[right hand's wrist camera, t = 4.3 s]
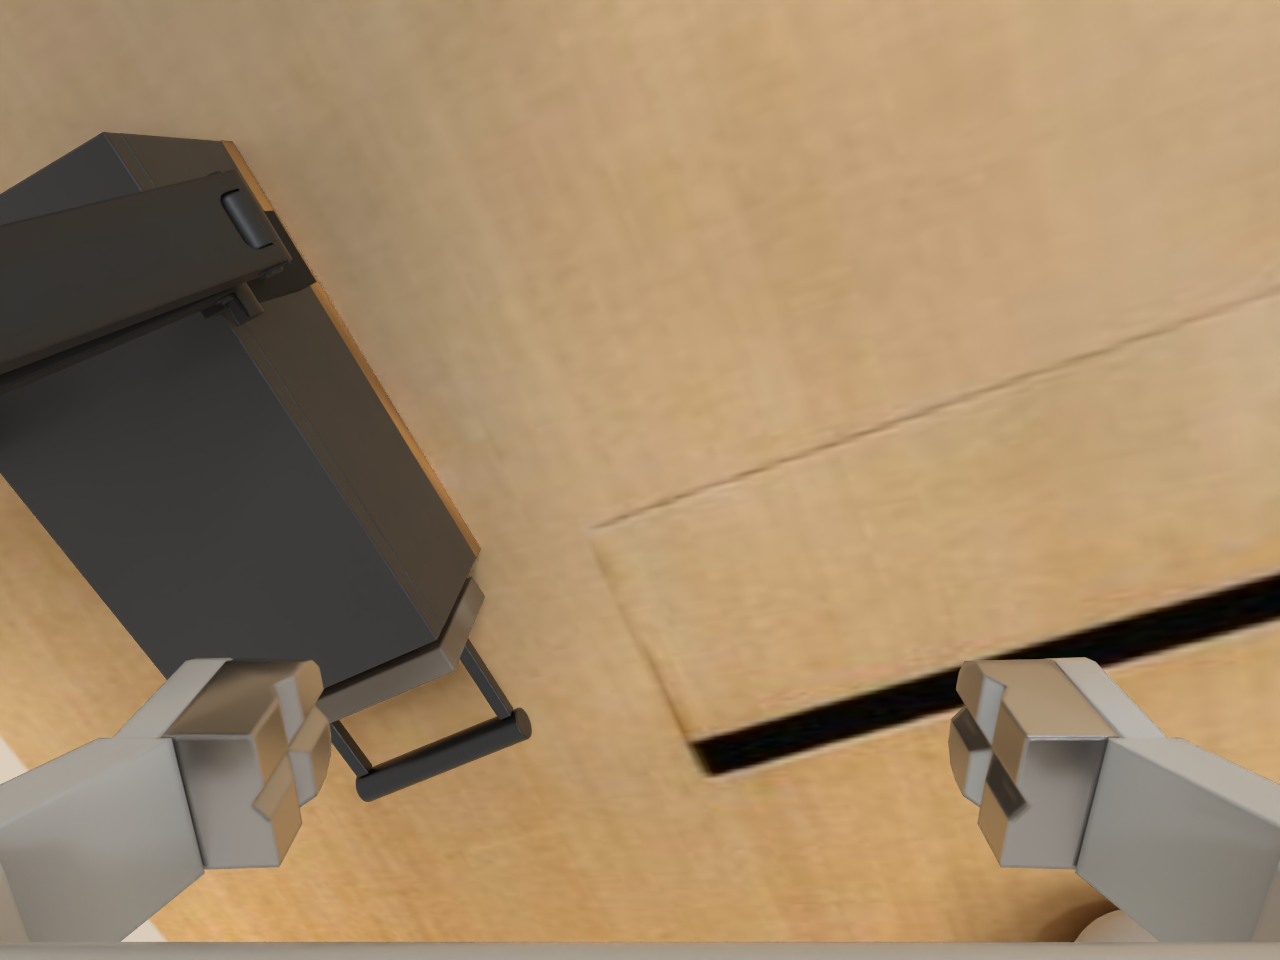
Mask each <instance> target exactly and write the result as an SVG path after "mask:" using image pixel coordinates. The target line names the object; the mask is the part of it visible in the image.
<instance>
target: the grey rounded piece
mask: <svg viewBox="0 0 1280 960" xmlns="http://www.w3.org/2000/svg"><path fill="white" fill-rule="evenodd" d="M1075 942H1160V941H1158V940H1157V939H1156V938H1155V937H1153V936H1152V935H1151V934H1150V933H1149V932H1147V931H1146V930H1145V929H1144V928H1142V927H1141V926H1140V925H1139V924H1138V923H1136V922H1135V921H1134V920H1133V919H1131V918H1130V917H1129V916H1128V915H1126V914H1125V913H1124V912H1123V911H1122V910H1116V911H1113V912H1110V913H1107V914H1105V915H1103V916H1101V917H1099V918H1097V919H1095V920H1094V921H1093V922H1092V923H1091V924H1089V925H1088V926H1087V927H1086V928H1085V929H1084V930H1083V931H1082V932H1081V933H1080V935H1079V936H1078V938H1077V939H1076V940H1075Z"/></svg>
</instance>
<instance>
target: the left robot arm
mask: <svg viewBox="0 0 1280 960" xmlns="http://www.w3.org/2000/svg"><path fill="white" fill-rule="evenodd" d="M316 282H317V281H316V280H315V278H314V276H313V275H312V273H311V271H310V270H309V268H308V266H307V265H306V263H305V261H304V260H303V258H302V256H301V255H300V253H299V251H298V250H297V248H296V246H295V245H294V243H293V242H292V240H291V238H290V237H289V235H288V233H287V232H286V230H285V228H284V227H283V225H282V223H281V222H280V220H279V218H278V217H277V215H276V213H275V212H274V210H272V211H263V209H262V208H261V206H260V205H259V203H258V201H257V200H256V198H255V196H254V195H253V193H252V191H251V190H250V188H249V187H248V185H247V183H246V182H245V180H244V178H243V177H242V175H241V173H240V172H239V171H238V170H230V171H226V172H223V171H217V172H214V173H211V174H209V175H207V176H205V177H201V178H197V179H192V180H188V181H184V182H180V183H176V184H171V185H167V186H163V187H159V188H155V189H150V190H146V191H142V192H138V193H134V194H129V195H125V196H121V197H117V198H113V199H108V200H104V201H100V202H96V203H91V204H87V205H83V206H79V207H75V208H70V209H66V210H62V211H58V212H54V213H49V214H45V215H41V216H37V217H33V218H28V219H24V220H20V221H16V222H12V223H7V224H3V225H0V396H2V395H5V394H7V393H9V392H12V391H14V390H16V389H19V388H21V387H23V386H26V385H28V384H30V383H33V382H35V381H37V380H40V379H42V378H44V377H47V376H49V375H51V374H54V373H56V372H59V371H61V370H63V369H66V368H68V367H70V366H73V365H75V364H77V363H80V362H82V361H84V360H87V359H89V358H91V357H94V356H96V355H98V354H101V353H103V352H106V351H108V350H110V349H113V348H115V347H117V346H120V345H122V344H124V343H127V342H129V341H131V340H134V339H136V338H138V337H141V336H143V335H145V334H148V333H150V332H153V331H155V330H157V329H160V328H162V327H164V326H167V325H169V324H171V323H174V322H176V321H178V320H181V319H183V318H185V317H188V316H190V315H192V314H195V313H197V312H199V311H200V312H201V313H202V315H203V316H204V318H205V319H207V318H210V317H214V316H217V315H221V314H224V313H227V312H228V313H229V314H230V316H231V318H232V319H233V321H234V322H235V324H236V325H237V326H240V325H242V324H244V323H246V322H248V321H250V320H252V319H254V318H256V317H257V316H259V315H261V314H262V313H264V310H263V308H262V307H261V305H260V304H259V303H261V302H265V301H268V300H271V299H275V298H278V297H281V296H285V295H288V294H292V293H295V292H298V291H301V290H303V289H305V288H306V287H308V286H310V285H312V284H314V283H316Z"/></svg>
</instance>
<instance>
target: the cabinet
mask: <svg viewBox="0 0 1280 960" xmlns="http://www.w3.org/2000/svg"><path fill="white" fill-rule="evenodd" d="M230 170H238V171H239V172H240V173H241V175H242V177H243V178H244V180H245V182H246V183H247V185H248V187H249V188H250V190H251V191H252V193H253V195H254V196H255V198H256V200H257V201H258V203H259V205H260V206H261V208H262V209H263V211H272V210H274V209H273V207H272V205H271V204H270V202H269V200H268V199H267V197H266V195H265V194H264V192H263V190H262V189H261V187H260V186H259V184H258V182H257V181H256V179H255V177H254V176H253V174H252V172H251V171H250V169H249V167H248V166H247V164H246V163H245V161H244V159H243V158H242V156H241V154H240V153H239V151H238V149H237V148H236V146H235V144H234V143H233V141H209V140H197V139H185V138H172V137H160V136H148V135H136V134H123V133H120V134H119V133H108V132H102V133H101V134H99V135H97V136H96V137H94V138H92V139H91V140H89V141H87V142H86V143H84V144H83V145H81V146H79V147H78V148H76V149H74V150H73V151H71V152H69V153H68V154H66V155H64V156H63V157H61V158H59V159H58V160H56V161H54V162H53V163H51V164H49V165H48V166H46V167H44V168H43V169H41V170H40V171H38V172H36V173H35V174H33V175H31V176H30V177H28V178H26V179H25V180H23V181H21V182H20V183H18V184H16V185H15V186H13V187H11V188H10V189H8V190H6V191H5V192H3V193H1V194H0V225H3V224H7V223H12V222H16V221H20V220H24V219H28V218H33V217H37V216H41V215H45V214H49V213H54V212H58V211H62V210H66V209H70V208H75V207H79V206H83V205H87V204H91V203H96V202H100V201H104V200H108V199H113V198H117V197H121V196H125V195H129V194H134V193H138V192H142V191H146V190H150V189H155V188H159V187H163V186H167V185H171V184H176V183H180V182H184V181H188V180H192V179H197V178H201V177H205V176H207V175H209V174H211V173H214V172H217V171H223V172H226V171H230ZM274 212H275V210H274ZM275 213H276V212H275ZM276 215H277V213H276ZM277 217H278V215H277ZM278 218H279V217H278ZM279 220H280V218H279ZM280 222H281V220H280ZM281 223H282V222H281ZM282 225H283V223H282ZM283 227H284V225H283ZM284 228H285V227H284ZM285 230H286V228H285ZM286 232H287V230H286ZM287 233H288V232H287ZM288 235H289V233H288ZM289 237H290V238H291V236H290V235H289ZM291 240H292V238H291ZM292 242H293V243H294V241H293V240H292ZM294 245H295V243H294ZM295 246H296V245H295ZM296 248H297V246H296ZM297 250H298V248H297ZM298 251H299V250H298ZM299 253H300V251H299ZM300 255H301V253H300ZM301 256H302V255H301ZM302 258H303V256H302ZM303 260H304V261H305V259H304V258H303ZM305 263H306V261H305ZM306 265H307V266H308V264H307V263H306ZM308 268H309V266H308ZM309 270H310V271H311V269H310V268H309ZM311 273H312V271H311ZM312 275H313V276H314V274H313V273H312ZM314 278H315V276H314ZM315 280H316V281H317V279H316V278H315ZM259 304H260V305H261V307H262V308H263V310H264V313H262V314H261V315H259V316H257V317H256V318H254V319H252V320H250V321H248V322H246V323H244V324H242V325H240V326H237V325H236V324H235V322H234V321H233V319H232V318H231V316H230V314H229V313H228V312H227V313H224V314H221V315H217V316H214V317H210V318H207V319H205V318H204V316H203V315H202V313H201V312H200V311H199V312H197V313H195V314H192V315H190V316H188V317H185V318H183V319H181V320H178V321H176V322H174V323H171V324H169V325H167V326H164V327H162V328H160V329H157V330H155V331H153V332H150V333H148V334H145V335H143V336H141V337H138V338H136V339H134V340H131V341H129V342H127V343H124V344H122V345H120V346H117V347H115V348H113V349H110V350H108V351H106V352H103V353H101V354H98V355H96V356H94V357H91V358H89V359H87V360H84V361H82V362H80V363H77V364H75V365H73V366H70V367H68V368H66V369H63V370H61V371H59V372H56V373H54V374H51V375H49V376H47V377H44V378H42V379H40V380H37V381H35V382H33V383H30V384H28V385H26V386H23V387H21V388H19V389H16V390H14V391H12V392H9V393H7V394H5V395H2V396H0V473H1V475H2V476H3V477H4V478H5V480H6V481H7V482H8V483H9V484H10V486H11V487H12V488H13V489H14V491H15V492H16V493H17V494H18V496H19V497H20V498H21V499H22V501H23V502H24V503H25V504H26V506H27V507H28V508H29V509H30V511H31V512H32V513H33V514H34V515H35V517H36V518H37V519H38V520H39V522H40V523H41V524H42V525H43V527H44V528H45V529H46V530H47V532H48V533H49V534H50V535H51V537H52V538H53V539H54V540H55V542H56V543H57V544H58V545H59V546H60V548H61V549H62V550H63V551H64V553H65V554H66V555H67V556H68V558H69V559H70V560H71V561H72V563H73V564H74V565H75V566H76V568H77V569H78V570H79V571H80V573H81V574H82V575H83V576H84V577H85V579H86V580H87V581H88V582H89V584H90V585H91V586H92V587H93V589H94V590H95V591H96V592H97V594H98V595H99V596H100V597H101V599H102V600H103V601H104V602H105V604H106V605H107V606H108V607H109V608H110V610H111V611H112V612H113V613H114V615H115V616H116V617H117V618H118V620H119V621H120V622H121V623H122V625H123V626H124V627H125V628H126V630H127V631H128V632H129V633H130V635H131V636H132V637H133V638H134V640H135V641H136V642H137V643H138V644H139V646H140V647H141V648H142V649H143V651H144V652H145V653H146V654H147V656H148V657H149V658H150V659H151V661H152V662H153V663H154V664H155V666H156V667H157V668H158V669H159V671H160V672H161V673H162V674H163V675H164V677H165V678H166V679H167V680H168V679H169V678H170V677H171V676H172V675H173V674H174V673H175V671H176V670H177V669H178V668H179V667H180V666H181V665H182V664H183V663H184V662H185V661H187V660H191V659H195V658H231V659H235V658H248V659H297V660H313V661H314V662H315V663H316V664H317V665H318V666H319V668H320V673H321V678H322V683H323V687H324V688H326V687H329V686H331V685H333V684H336V683H338V682H340V681H343V680H345V679H347V678H350V677H352V676H354V675H357V674H359V673H361V672H363V671H366V670H368V669H370V668H373V667H375V666H377V665H380V664H382V663H384V662H387V661H389V660H391V659H394V658H396V657H398V656H401V655H403V654H405V653H408V652H410V651H412V650H415V649H417V648H419V647H421V646H424V645H426V644H428V643H431V642H433V641H435V640H437V639H438V637H439V635H440V633H441V630H442V628H443V627H444V624H445V622H446V620H447V618H448V616H449V614H450V612H451V610H452V607H453V605H454V603H455V601H456V599H457V597H458V595H459V593H460V590H461V588H462V586H463V584H464V582H465V580H466V578H467V575H468V573H469V571H470V569H471V567H472V565H473V563H474V561H475V558H476V557H477V556H478V554H479V552H480V550H481V549H480V547H479V545H478V544H477V542H476V540H475V539H474V537H473V535H472V534H471V532H470V531H469V529H468V527H467V526H466V524H465V522H464V521H463V519H462V517H461V516H460V514H459V512H458V511H457V509H456V508H455V506H454V504H453V503H452V501H451V499H450V498H449V496H448V494H447V493H446V491H445V489H444V488H443V486H442V485H441V483H440V481H439V480H438V478H437V476H436V475H435V473H434V471H433V470H432V468H431V466H430V465H429V463H428V462H427V460H426V458H425V457H424V455H423V453H422V452H421V450H420V448H419V447H418V445H417V443H416V442H415V440H414V439H413V437H412V435H411V434H410V432H409V430H408V429H407V427H406V425H405V424H404V422H403V420H402V419H401V417H400V416H399V414H398V412H397V411H396V409H395V407H394V406H393V404H392V402H391V401H390V399H389V397H388V396H387V394H386V393H385V391H384V389H383V388H382V386H381V384H380V383H379V381H378V379H377V378H376V376H375V374H374V373H373V371H372V370H371V368H370V366H369V365H368V363H367V361H366V360H365V358H364V356H363V355H362V353H361V351H360V350H359V348H358V347H357V345H356V343H355V342H354V340H353V338H352V337H351V335H350V333H349V332H348V330H347V328H346V327H345V325H344V324H343V322H342V320H341V319H340V317H339V315H338V314H337V312H336V310H335V309H334V307H333V305H332V304H331V302H330V301H329V299H328V297H327V296H326V294H325V292H324V291H323V289H322V287H321V286H320V284H319V282H318V281H317V282H316V283H314V284H312V285H310V286H308V287H306V288H305V289H303V290H301V291H298V292H295V293H292V294H288V295H285V296H281V297H278V298H275V299H271V300H268V301H265V302H261V303H259Z"/></svg>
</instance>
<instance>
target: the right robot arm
mask: <svg viewBox="0 0 1280 960" xmlns="http://www.w3.org/2000/svg"><path fill="white" fill-rule="evenodd" d="M323 690H324V687H323V683H322V678H321V673H320V668H319V666H318V665H317V664H316V663H315V662H314V661H313V660H297V659H248V658H235V659H231V658H195V659H191V660H187V661H185V662H184V663H183V664H182V665H181V666H180V667H179V668H178V669H177V670H176V671H175V673H174V674H173V675H172V676H171V677H170V678H169V679H168V680H167V681H166V682H165V683H164V684H163V685H162V686H161V687H160V688H159V689H158V690H157V691H156V692H155V694H154V695H153V696H152V697H151V698H150V699H149V700H148V701H147V702H146V703H145V704H144V705H143V706H142V707H141V708H140V709H139V710H138V711H137V712H136V713H135V715H134V716H133V717H132V718H131V719H130V720H129V721H128V722H127V723H126V724H125V725H124V726H123V727H122V728H121V729H120V730H119V731H118V732H117V733H116V734H115V736H114V737H113V738H98V739H96V740H94V741H92V742H89V743H87V744H85V745H83V746H81V747H79V748H77V749H75V750H73V751H70V752H68V753H66V754H64V755H62V756H60V757H58V758H56V759H53V760H51V761H49V762H47V763H45V764H43V765H41V766H39V767H37V768H34V769H32V770H30V771H28V772H26V773H24V774H22V775H20V776H17V777H15V778H13V779H11V780H9V781H7V782H5V783H3V784H1V785H0V960H1280V785H1279V784H1277V783H1275V782H1273V781H1271V780H1269V779H1267V778H1264V777H1262V776H1260V775H1258V774H1256V773H1254V772H1252V771H1250V770H1248V769H1245V768H1243V767H1241V766H1239V765H1237V764H1235V763H1233V762H1231V761H1229V760H1226V759H1224V758H1222V757H1220V756H1218V755H1216V754H1214V753H1212V752H1210V751H1207V750H1205V749H1203V748H1201V747H1199V746H1197V745H1195V744H1193V743H1191V742H1188V741H1186V740H1184V739H1182V738H1167V737H1166V735H1165V734H1164V733H1163V732H1162V731H1161V730H1160V729H1159V728H1158V727H1157V726H1156V725H1155V724H1154V723H1153V722H1152V721H1151V720H1150V719H1149V718H1148V717H1147V715H1146V714H1145V713H1144V712H1143V711H1142V710H1141V709H1140V708H1139V707H1138V706H1137V705H1136V704H1135V703H1134V702H1133V701H1132V700H1131V699H1130V698H1129V697H1128V696H1127V694H1126V693H1125V692H1124V691H1123V690H1122V689H1121V688H1120V687H1119V686H1118V685H1117V684H1116V683H1115V682H1114V681H1113V680H1112V679H1111V678H1110V677H1109V676H1108V675H1107V673H1106V672H1105V671H1104V670H1103V669H1102V668H1101V667H1100V666H1099V665H1098V664H1097V663H1096V662H1094V661H1092V660H1090V659H1087V658H1085V657H1083V658H1055V659H1037V660H992V661H964V663H963V665H962V667H961V669H960V671H959V676H958V682H957V687H956V690H957V692H958V693H959V695H960V697H961V698H962V700H963V702H964V703H965V706H964V707H963V708H962V709H961V710H960V711H959V712H958V713H957V714H956V715H955V716H954V717H953V718H952V719H951V725H950V733H949V741H948V743H949V753H950V764H951V767H952V771H953V774H954V777H955V781H956V783H957V785H958V787H959V789H960V791H961V793H962V795H963V796H964V797H966V798H967V799H969V800H970V801H971V802H973V803H974V804H976V805H977V806H979V807H980V812H979V818H978V825H979V827H980V829H981V831H982V833H983V835H984V836H985V838H986V840H987V842H988V844H989V846H990V848H991V850H992V851H993V853H994V855H995V857H996V859H997V861H998V863H999V865H1000V866H1001V867H1011V868H1046V869H1076V871H1075V873H1076V874H1077V875H1079V876H1080V877H1081V878H1082V879H1083V880H1085V881H1086V882H1087V883H1088V884H1090V885H1091V886H1092V887H1093V888H1095V889H1096V890H1097V891H1098V892H1099V893H1101V894H1102V895H1103V896H1104V897H1106V898H1107V899H1108V900H1109V901H1110V902H1112V903H1113V904H1114V905H1115V906H1117V907H1118V908H1119V909H1120V910H1122V911H1123V912H1124V913H1125V914H1126V915H1128V916H1129V917H1130V918H1131V919H1133V920H1134V921H1135V922H1136V923H1138V924H1139V925H1140V926H1141V927H1142V928H1144V929H1145V930H1146V931H1147V932H1149V933H1150V934H1151V935H1152V936H1153V937H1155V938H1156V939H1157V940H1158V941H1160V942H121V941H122V940H123V939H124V938H125V937H127V936H128V935H129V934H130V933H132V932H133V931H134V930H135V929H137V928H138V927H139V926H140V925H141V924H143V923H144V922H145V921H146V920H148V919H149V918H150V917H151V916H153V915H154V914H155V913H156V912H158V911H159V910H160V909H161V908H162V907H164V906H165V905H166V904H167V903H169V902H170V901H171V900H172V899H173V898H175V897H176V896H177V895H178V894H180V893H181V892H182V891H183V890H185V889H186V888H187V887H188V886H189V885H191V884H192V883H193V882H194V881H196V880H197V879H198V878H199V877H201V876H202V875H203V874H204V869H233V868H267V867H280V865H281V863H282V861H283V859H284V857H285V855H286V853H287V852H288V850H289V848H290V846H291V844H292V842H293V840H294V838H295V836H296V835H297V833H298V831H299V829H300V827H301V825H302V818H301V812H300V807H301V806H303V805H304V804H306V803H307V802H309V801H310V800H311V799H313V798H314V797H316V796H317V795H318V792H319V790H320V788H321V786H322V784H323V782H324V780H325V778H326V774H327V770H328V765H329V761H330V757H331V731H330V724H329V719H328V718H327V717H326V716H325V715H324V714H323V713H322V712H321V711H320V710H319V709H318V708H317V707H316V706H315V703H316V702H317V700H318V698H319V697H320V695H321V693H322V692H323Z"/></svg>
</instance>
